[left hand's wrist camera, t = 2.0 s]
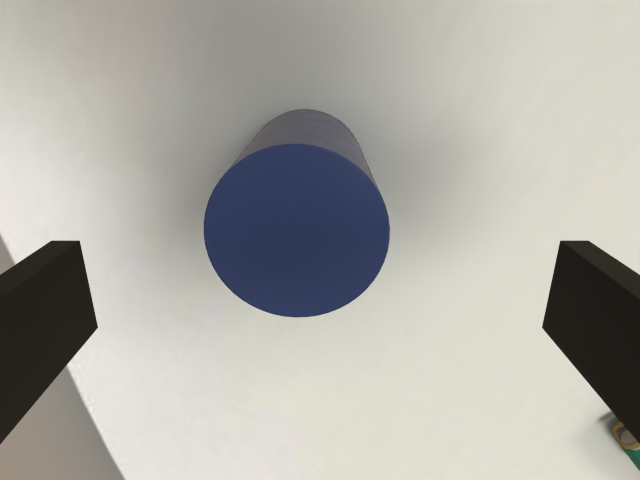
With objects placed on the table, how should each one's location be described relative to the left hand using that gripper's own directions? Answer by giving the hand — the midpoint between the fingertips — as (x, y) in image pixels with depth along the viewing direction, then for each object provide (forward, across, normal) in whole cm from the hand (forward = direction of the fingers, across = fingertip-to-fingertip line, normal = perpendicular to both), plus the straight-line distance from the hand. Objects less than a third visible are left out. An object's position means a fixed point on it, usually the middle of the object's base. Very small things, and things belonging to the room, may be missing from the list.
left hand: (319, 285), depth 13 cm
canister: (+15, -1, 0) cm, 15 cm away
